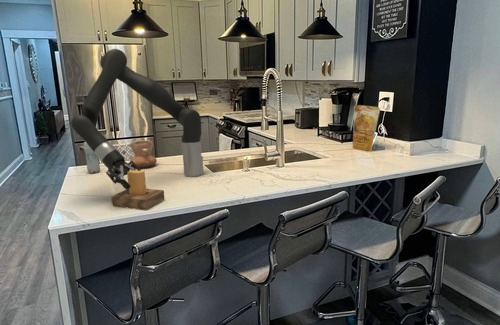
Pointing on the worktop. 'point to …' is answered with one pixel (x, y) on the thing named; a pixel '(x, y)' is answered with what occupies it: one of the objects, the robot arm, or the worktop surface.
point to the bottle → (91, 159)
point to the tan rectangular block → (137, 182)
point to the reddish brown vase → (143, 153)
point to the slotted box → (138, 199)
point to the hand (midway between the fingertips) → (136, 185)
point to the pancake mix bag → (364, 126)
